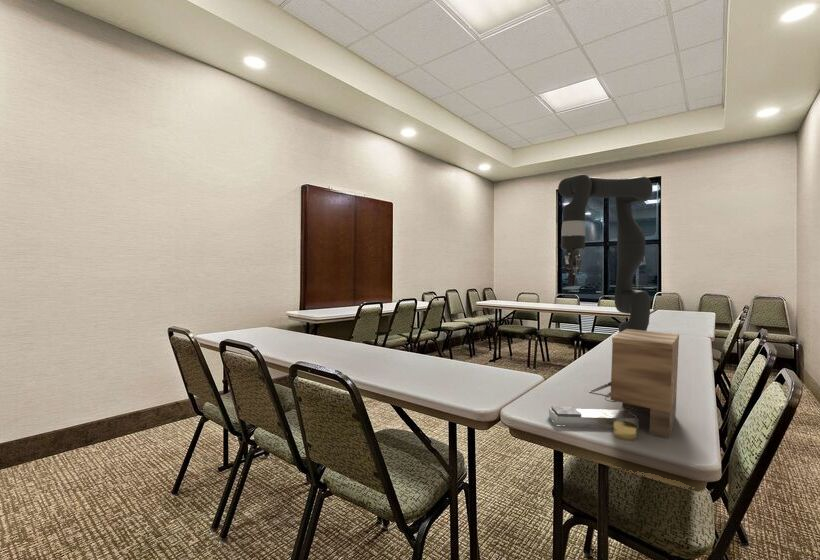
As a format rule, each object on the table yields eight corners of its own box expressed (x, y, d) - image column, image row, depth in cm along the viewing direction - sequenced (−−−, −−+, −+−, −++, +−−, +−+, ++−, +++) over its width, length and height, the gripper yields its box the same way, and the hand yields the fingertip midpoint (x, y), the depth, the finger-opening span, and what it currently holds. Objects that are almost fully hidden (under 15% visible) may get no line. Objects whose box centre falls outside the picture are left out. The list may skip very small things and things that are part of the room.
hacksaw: (615, 381, 141) (615, 377, 141) (646, 389, 133) (646, 384, 133) (582, 394, 126) (582, 390, 126) (614, 403, 118) (614, 398, 118)
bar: (548, 418, 106) (549, 405, 106) (626, 420, 105) (626, 407, 105) (556, 427, 100) (556, 414, 100) (638, 430, 99) (639, 416, 99)
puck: (614, 430, 98) (615, 419, 98) (637, 435, 95) (637, 423, 95) (612, 437, 94) (612, 425, 94) (635, 443, 91) (636, 430, 91)
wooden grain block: (623, 405, 116) (626, 328, 115) (675, 416, 108) (679, 334, 107) (609, 424, 101) (612, 337, 100) (668, 439, 93) (672, 344, 92)
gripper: (567, 236, 138) (566, 285, 138) (555, 234, 127) (553, 286, 128) (590, 236, 133) (588, 286, 134) (579, 233, 123) (577, 287, 123)
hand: (571, 286), depth 131 cm, fingers closed
